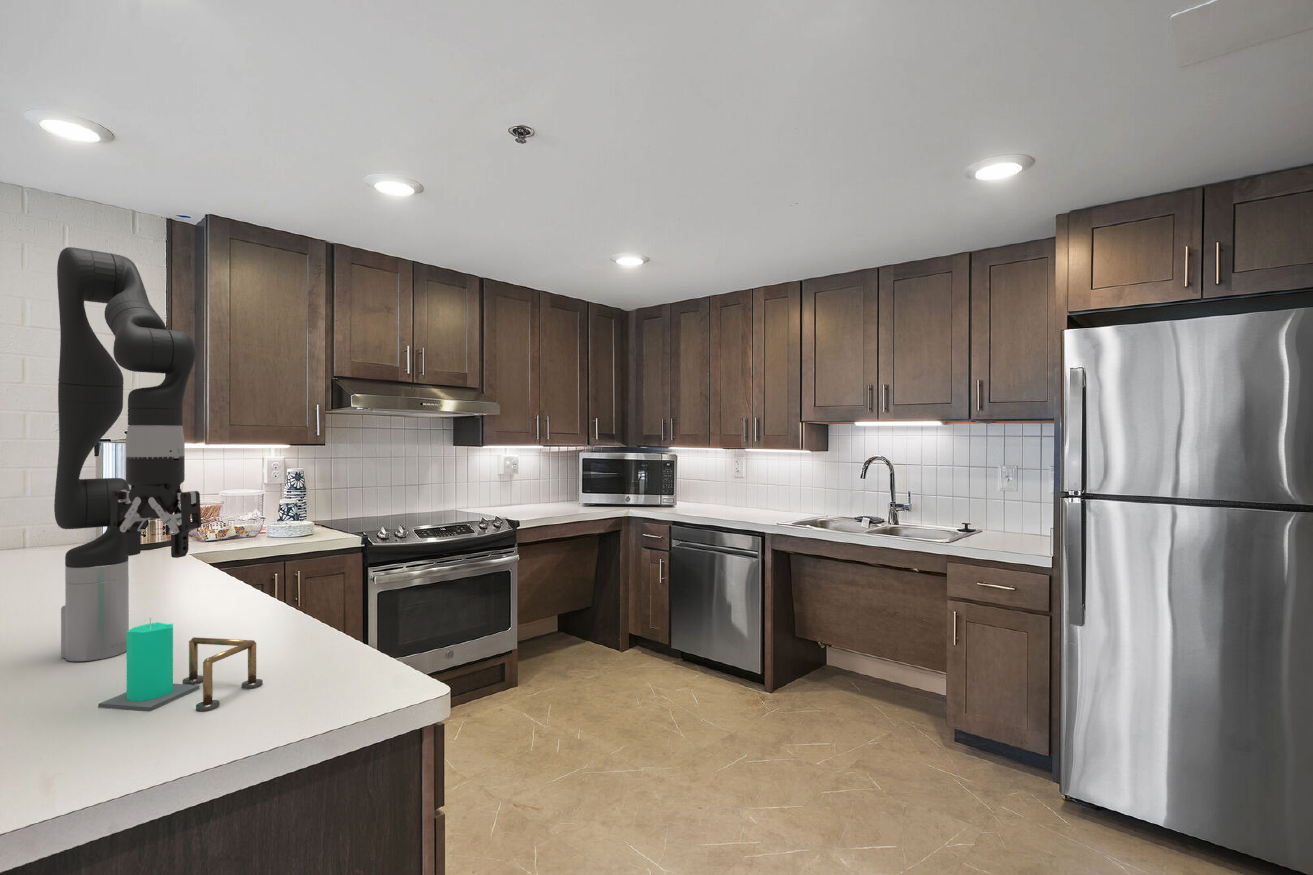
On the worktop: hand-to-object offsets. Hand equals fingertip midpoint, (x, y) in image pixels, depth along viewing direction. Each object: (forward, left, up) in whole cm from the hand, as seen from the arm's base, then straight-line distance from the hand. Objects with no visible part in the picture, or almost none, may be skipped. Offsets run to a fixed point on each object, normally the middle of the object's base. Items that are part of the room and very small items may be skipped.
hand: (155, 555), depth 107 cm
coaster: (0, -1, -22) cm, 22 cm away
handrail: (+7, +1, -22) cm, 23 cm away
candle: (0, -1, -22) cm, 22 cm away
